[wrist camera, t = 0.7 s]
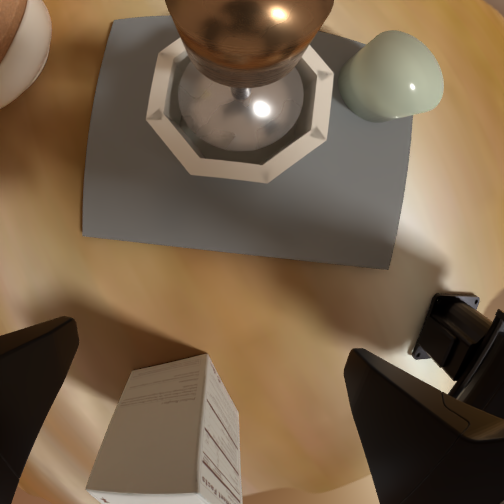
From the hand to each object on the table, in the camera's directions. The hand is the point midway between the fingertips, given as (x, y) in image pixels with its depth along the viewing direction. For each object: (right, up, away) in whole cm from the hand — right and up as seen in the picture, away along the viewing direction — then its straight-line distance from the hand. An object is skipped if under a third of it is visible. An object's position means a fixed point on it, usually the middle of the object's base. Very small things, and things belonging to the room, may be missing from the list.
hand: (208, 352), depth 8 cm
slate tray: (+1, +11, +9) cm, 14 cm away
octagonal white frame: (0, +12, +8) cm, 14 cm away
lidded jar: (-18, +19, +6) cm, 26 cm away
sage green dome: (+9, +14, +8) cm, 19 cm away
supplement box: (-4, -9, +15) cm, 18 cm away
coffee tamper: (+1, +10, +4) cm, 11 cm away
